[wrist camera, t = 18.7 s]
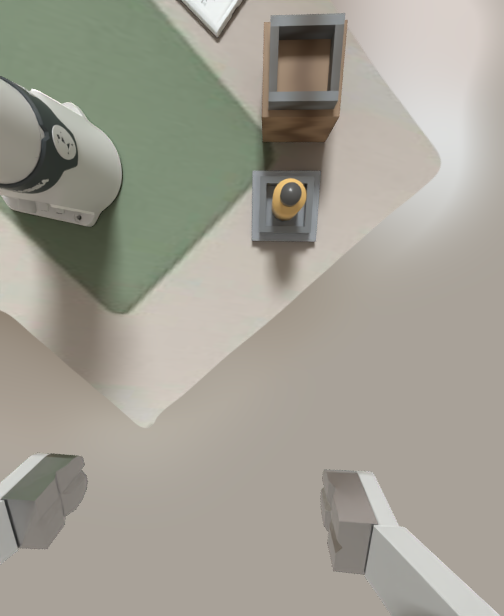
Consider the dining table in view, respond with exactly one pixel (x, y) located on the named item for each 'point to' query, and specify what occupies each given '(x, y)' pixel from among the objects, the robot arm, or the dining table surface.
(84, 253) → the dining table surface
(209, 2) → the external hard drive
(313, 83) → the walnut stand
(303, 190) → the yellow bottle
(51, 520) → the robot arm
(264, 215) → the low socket
